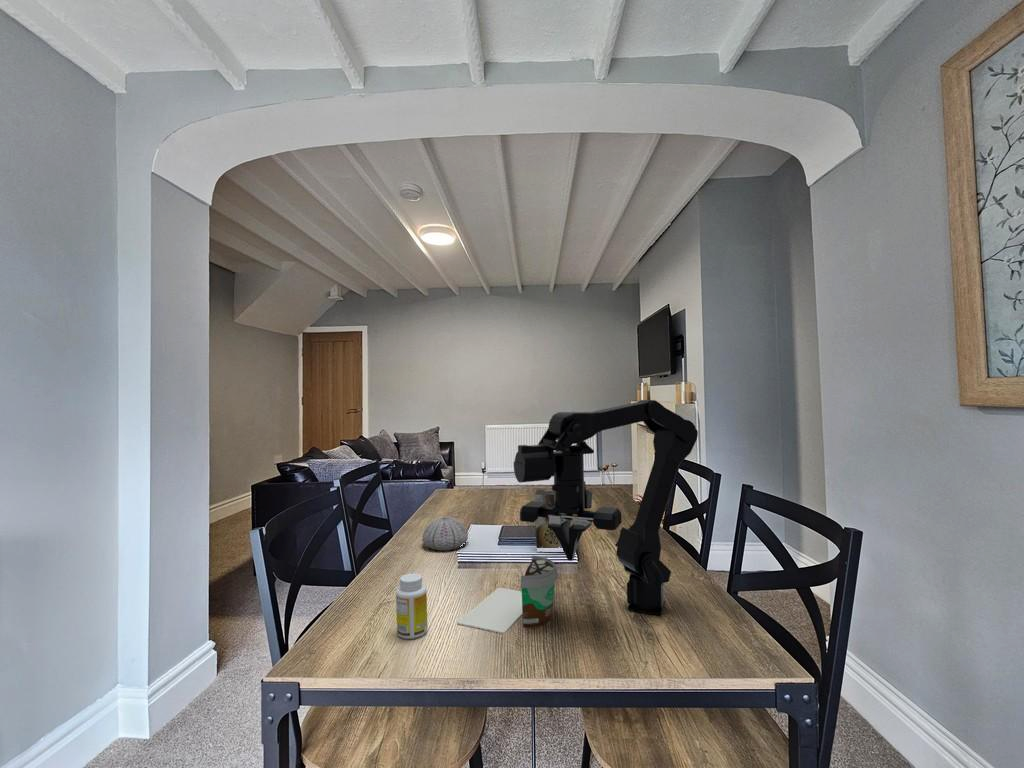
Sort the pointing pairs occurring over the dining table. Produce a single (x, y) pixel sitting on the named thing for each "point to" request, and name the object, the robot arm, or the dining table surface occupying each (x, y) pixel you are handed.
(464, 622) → the mat
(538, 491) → the coffee box
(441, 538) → the sea urchin shell
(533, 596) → the food container
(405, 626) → the supplement bottle
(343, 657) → the dining table surface
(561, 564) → the dining table surface
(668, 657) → the dining table surface
